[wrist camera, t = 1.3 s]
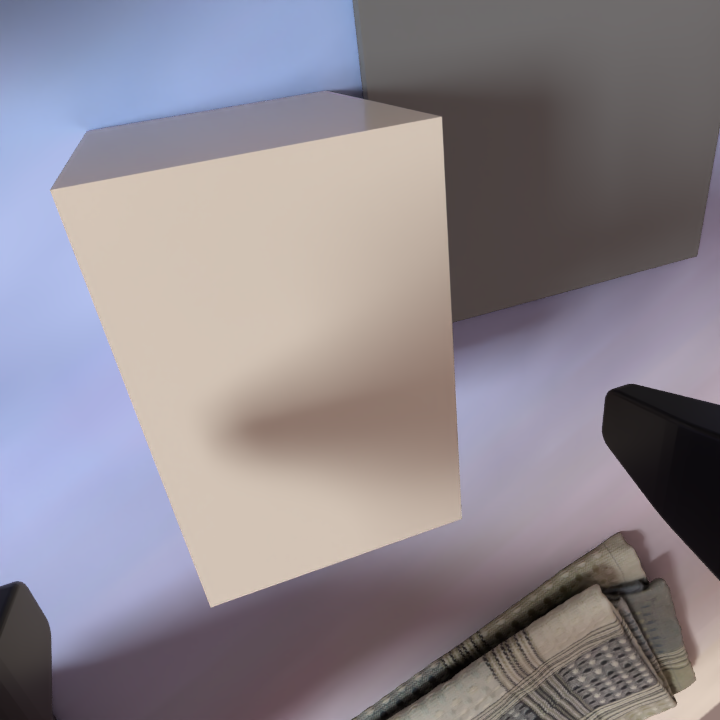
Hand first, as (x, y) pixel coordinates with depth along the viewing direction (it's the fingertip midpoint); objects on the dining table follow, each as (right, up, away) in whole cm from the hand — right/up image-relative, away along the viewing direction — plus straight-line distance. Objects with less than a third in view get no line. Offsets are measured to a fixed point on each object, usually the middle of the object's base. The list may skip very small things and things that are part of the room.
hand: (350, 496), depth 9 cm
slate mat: (+6, +10, +9) cm, 14 cm away
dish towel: (+10, -17, +25) cm, 32 cm away
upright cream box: (-3, +4, +8) cm, 10 cm away
